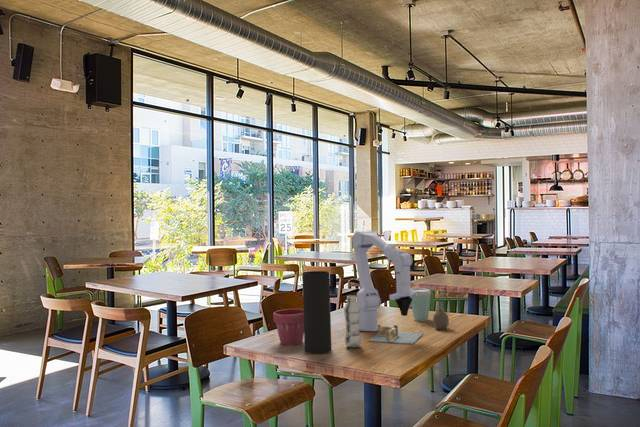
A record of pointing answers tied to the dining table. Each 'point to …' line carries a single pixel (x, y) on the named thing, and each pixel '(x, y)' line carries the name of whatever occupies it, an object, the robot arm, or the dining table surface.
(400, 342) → the card
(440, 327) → the vase
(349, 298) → the plastic bottle
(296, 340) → the plant pot
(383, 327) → the fence fixed
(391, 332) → the fence panel
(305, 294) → the vase
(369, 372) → the dining table surface
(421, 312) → the disposable coffee cup
